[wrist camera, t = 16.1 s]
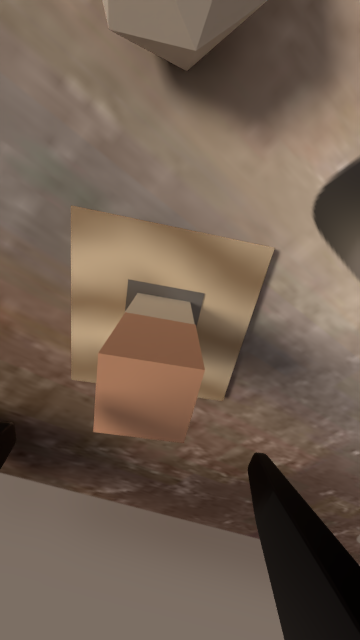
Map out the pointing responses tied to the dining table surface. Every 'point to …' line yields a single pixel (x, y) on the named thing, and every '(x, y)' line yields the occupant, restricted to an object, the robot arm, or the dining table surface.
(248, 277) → the tan board
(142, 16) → the die
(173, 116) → the dining table surface
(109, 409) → the terracotta block
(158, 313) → the cream block
